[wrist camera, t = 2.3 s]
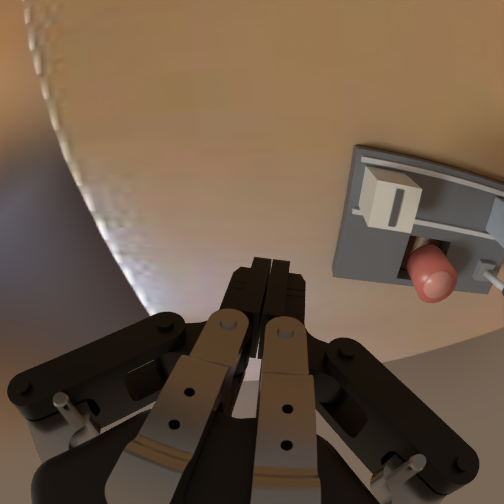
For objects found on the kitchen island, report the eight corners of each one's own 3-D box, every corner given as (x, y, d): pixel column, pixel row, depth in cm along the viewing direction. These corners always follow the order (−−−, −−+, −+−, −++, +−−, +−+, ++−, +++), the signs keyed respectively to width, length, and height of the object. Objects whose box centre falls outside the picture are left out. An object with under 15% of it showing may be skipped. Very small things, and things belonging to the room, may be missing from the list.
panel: (516, 187, 24) (550, 211, 18) (481, 285, 31) (503, 319, 25) (353, 144, 27) (368, 159, 21) (332, 267, 34) (336, 306, 28)
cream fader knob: (404, 173, 25) (423, 189, 21) (395, 211, 27) (411, 234, 23) (365, 165, 26) (378, 180, 21) (358, 205, 28) (368, 227, 23)
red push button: (449, 247, 27) (464, 267, 24) (435, 282, 30) (447, 305, 26) (413, 241, 28) (426, 262, 24) (401, 278, 30) (411, 302, 27)
